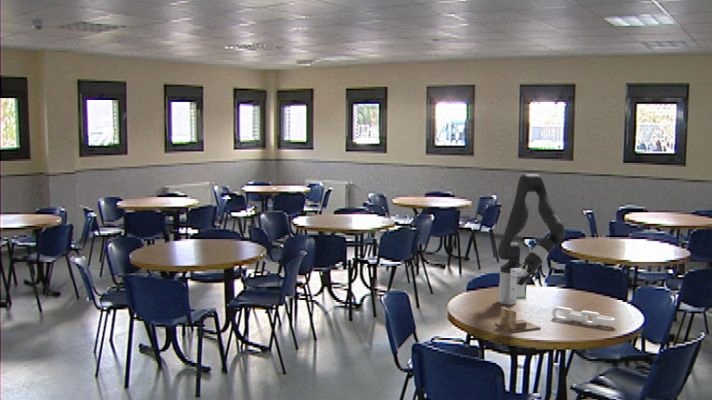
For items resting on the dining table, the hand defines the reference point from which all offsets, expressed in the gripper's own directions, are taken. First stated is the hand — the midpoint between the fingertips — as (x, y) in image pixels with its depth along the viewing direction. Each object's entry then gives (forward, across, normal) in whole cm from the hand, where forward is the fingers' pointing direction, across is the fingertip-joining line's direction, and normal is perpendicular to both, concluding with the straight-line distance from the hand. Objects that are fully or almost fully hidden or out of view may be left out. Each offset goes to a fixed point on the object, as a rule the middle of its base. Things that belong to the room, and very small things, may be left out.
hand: (515, 282), depth 329 cm
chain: (-11, +5, +43) cm, 44 cm away
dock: (+14, 0, +17) cm, 22 cm away
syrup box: (+5, 0, +7) cm, 8 cm away
